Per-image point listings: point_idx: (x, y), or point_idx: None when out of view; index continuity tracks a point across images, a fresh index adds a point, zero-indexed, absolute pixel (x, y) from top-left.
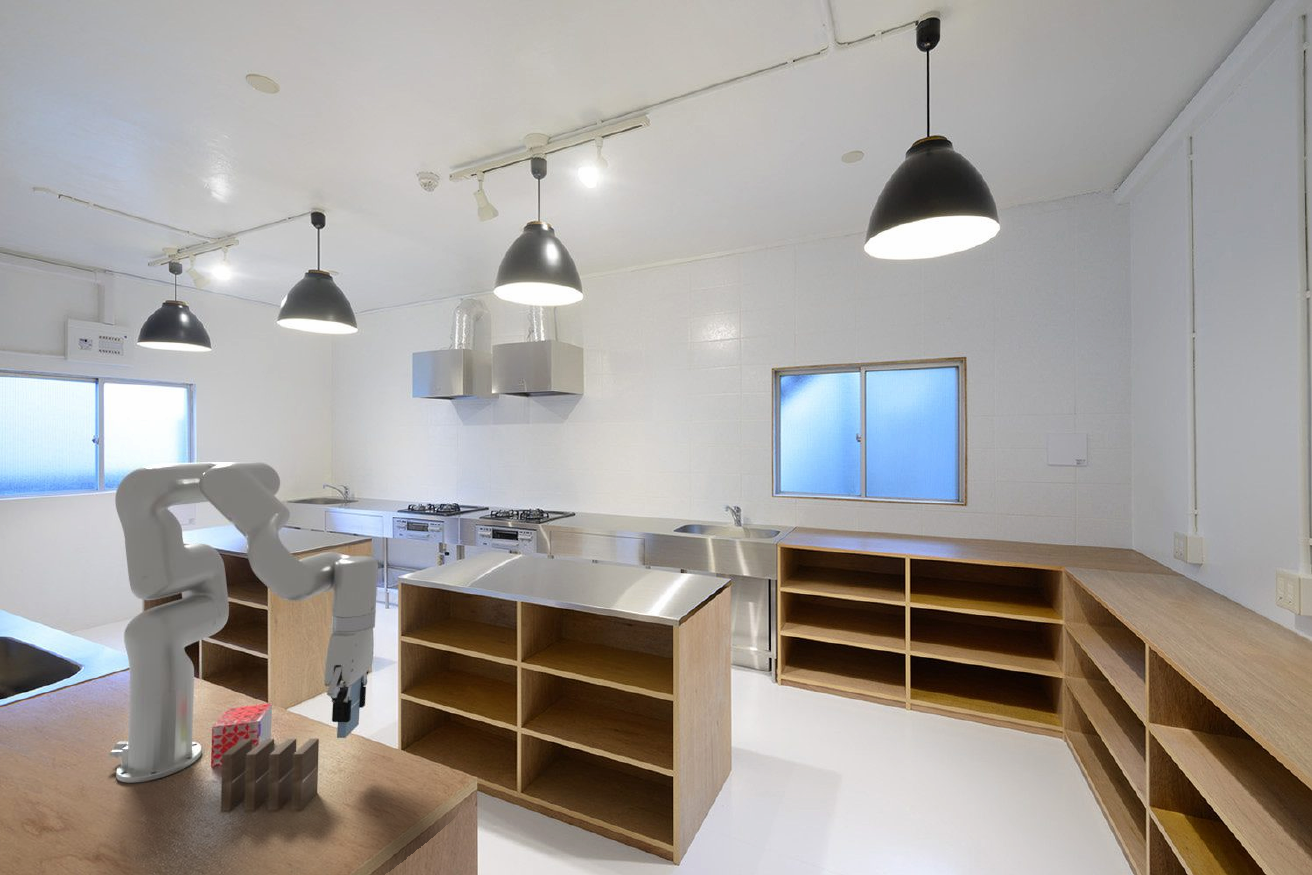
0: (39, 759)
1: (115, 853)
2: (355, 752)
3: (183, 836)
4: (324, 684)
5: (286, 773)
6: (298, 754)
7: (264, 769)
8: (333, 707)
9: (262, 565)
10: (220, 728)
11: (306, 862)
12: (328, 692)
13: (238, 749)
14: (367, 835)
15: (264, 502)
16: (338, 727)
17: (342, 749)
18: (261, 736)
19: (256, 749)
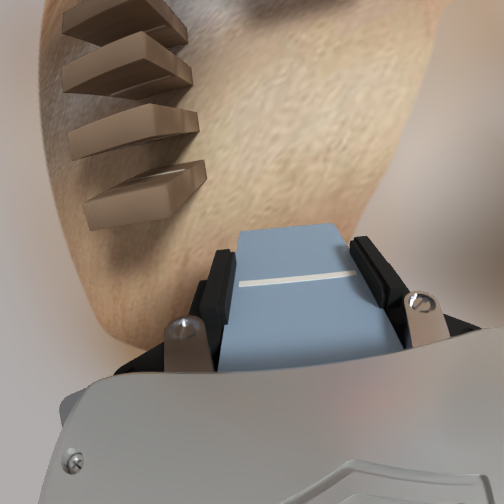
0: None
1: (55, 13)
2: (364, 169)
3: (79, 53)
4: (85, 389)
5: (142, 142)
6: (87, 218)
7: (134, 82)
8: (208, 287)
9: None
10: None
11: (80, 275)
12: (63, 411)
13: (83, 21)
14: (138, 321)
15: None
16: (238, 250)
17: (374, 131)
18: None
19: (83, 67)
